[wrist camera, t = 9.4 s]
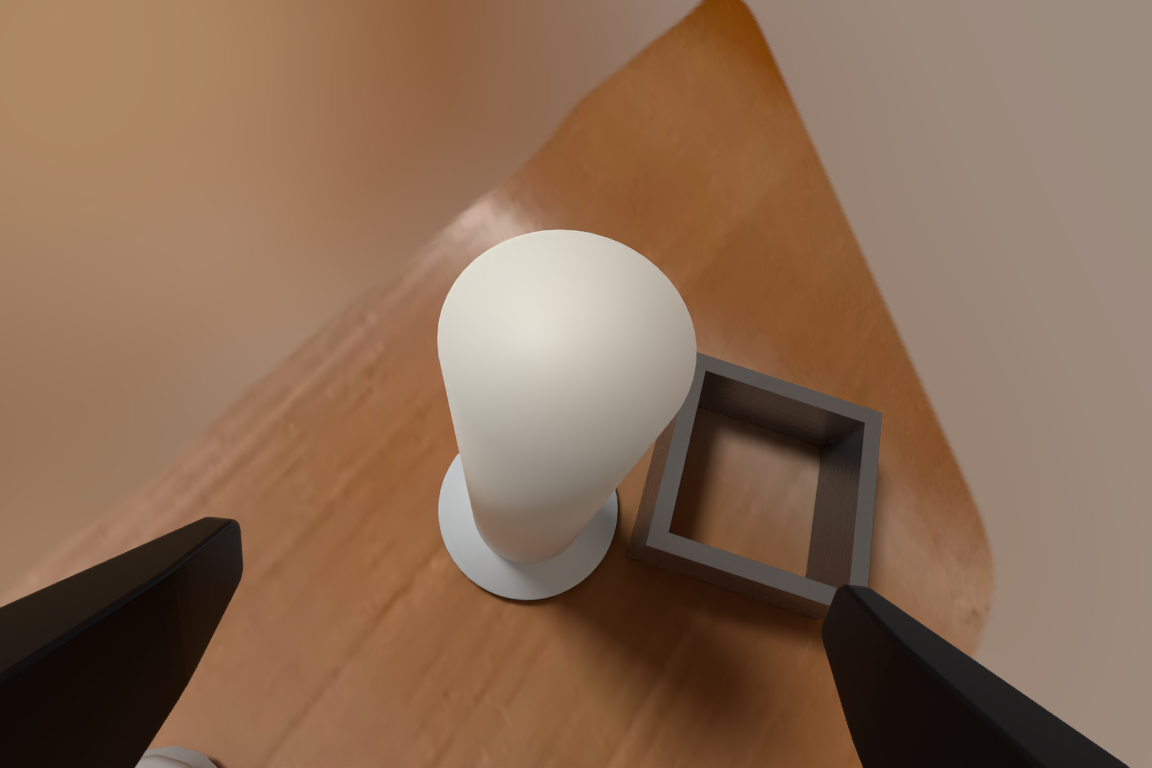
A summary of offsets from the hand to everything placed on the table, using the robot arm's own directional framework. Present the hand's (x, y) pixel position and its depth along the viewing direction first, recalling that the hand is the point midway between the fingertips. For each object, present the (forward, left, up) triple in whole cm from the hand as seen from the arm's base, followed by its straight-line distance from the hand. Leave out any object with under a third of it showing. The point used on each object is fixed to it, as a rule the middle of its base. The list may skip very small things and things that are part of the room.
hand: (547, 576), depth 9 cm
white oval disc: (+3, +1, -12) cm, 13 cm away
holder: (+6, -7, -12) cm, 15 cm away
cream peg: (+3, +1, -12) cm, 12 cm away
